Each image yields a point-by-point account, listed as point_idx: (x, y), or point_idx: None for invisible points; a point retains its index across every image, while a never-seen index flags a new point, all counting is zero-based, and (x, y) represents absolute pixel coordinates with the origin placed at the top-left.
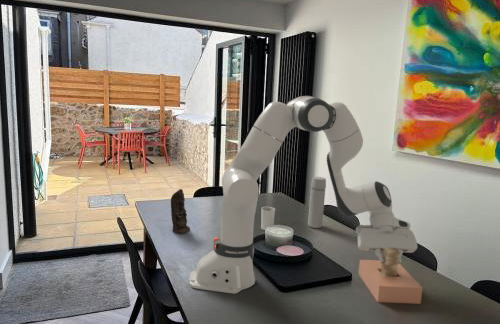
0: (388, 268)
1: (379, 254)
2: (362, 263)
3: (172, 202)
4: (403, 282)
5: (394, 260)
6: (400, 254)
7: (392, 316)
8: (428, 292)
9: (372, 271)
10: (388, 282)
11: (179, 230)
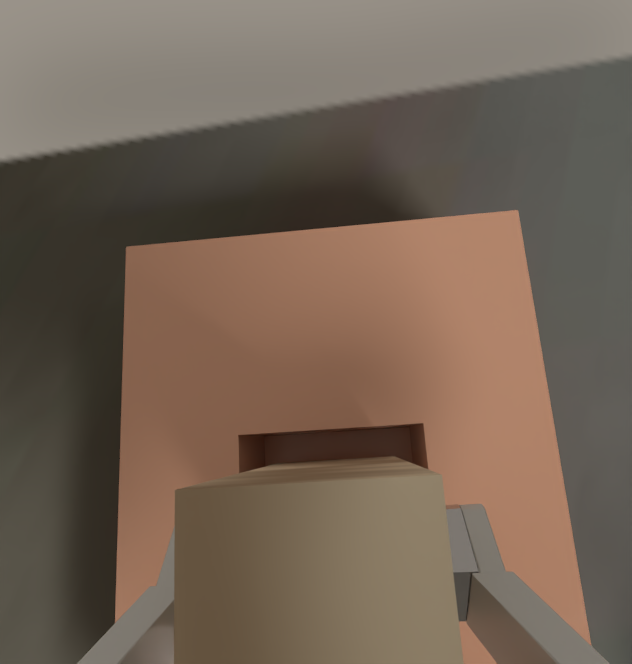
0: (371, 461)
1: (538, 605)
2: None
3: None
4: (260, 318)
5: (294, 473)
6: (127, 637)
7: (422, 118)
8: (40, 467)
9: (524, 532)
10: (409, 293)
11: None
